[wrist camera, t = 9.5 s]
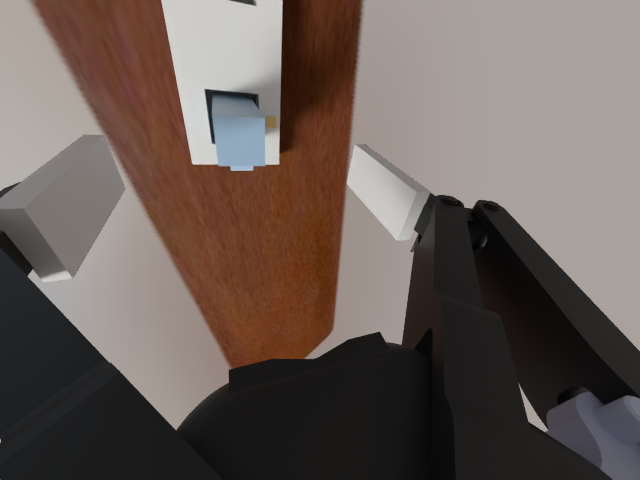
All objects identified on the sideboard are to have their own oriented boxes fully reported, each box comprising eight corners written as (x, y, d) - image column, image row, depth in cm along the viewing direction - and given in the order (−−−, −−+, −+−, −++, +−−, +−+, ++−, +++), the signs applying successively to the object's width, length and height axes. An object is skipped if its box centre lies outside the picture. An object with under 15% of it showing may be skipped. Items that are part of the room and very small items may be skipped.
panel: (137, -158, 16) (123, -194, 13) (277, -107, 19) (286, -129, 16) (194, 154, 27) (192, 165, 25) (274, 155, 30) (279, 165, 28)
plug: (212, 93, 24) (212, 114, 17) (250, 96, 25) (264, 118, 18) (217, 138, 27) (219, 174, 19) (251, 139, 28) (265, 174, 21)
